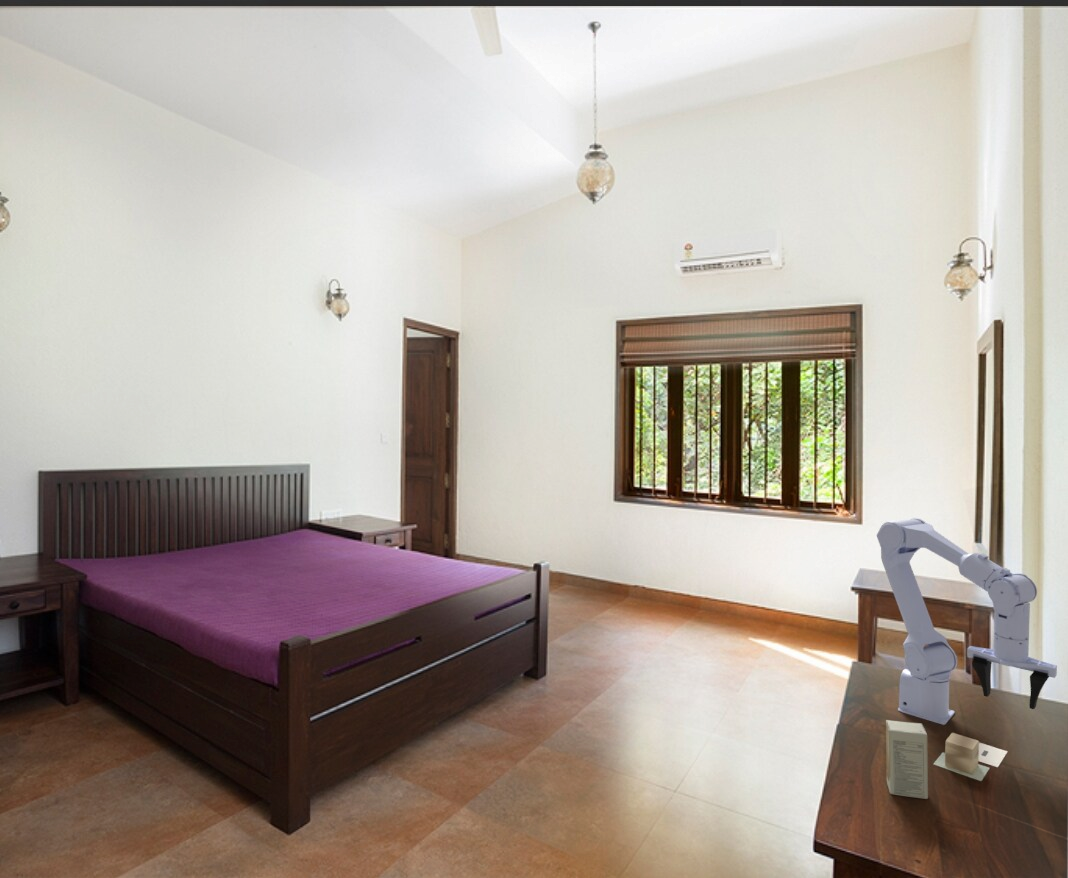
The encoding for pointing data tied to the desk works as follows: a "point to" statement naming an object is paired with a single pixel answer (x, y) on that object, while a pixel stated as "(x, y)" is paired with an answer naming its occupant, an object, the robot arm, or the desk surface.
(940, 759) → the sage coaster
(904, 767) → the skincare box
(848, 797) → the desk surface
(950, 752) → the maple block
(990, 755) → the tile
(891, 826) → the desk surface
